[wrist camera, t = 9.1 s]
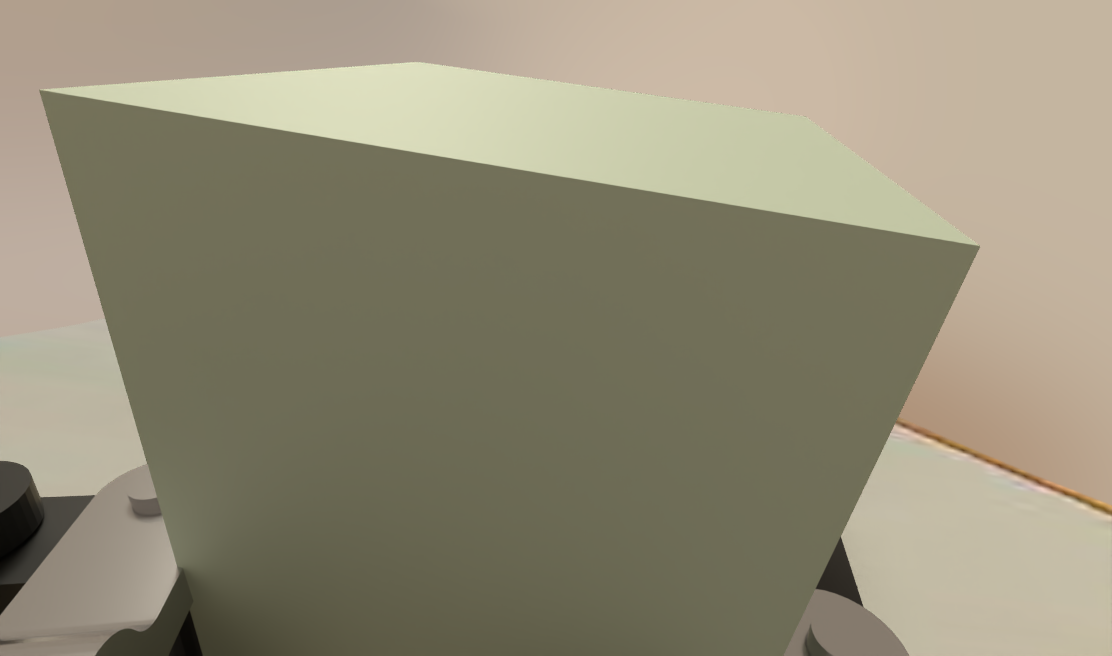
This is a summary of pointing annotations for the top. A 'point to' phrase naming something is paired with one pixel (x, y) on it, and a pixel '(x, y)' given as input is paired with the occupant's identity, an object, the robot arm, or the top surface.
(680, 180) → the sage pillar
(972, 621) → the top surface
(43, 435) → the top surface
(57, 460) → the top surface
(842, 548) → the robot arm
